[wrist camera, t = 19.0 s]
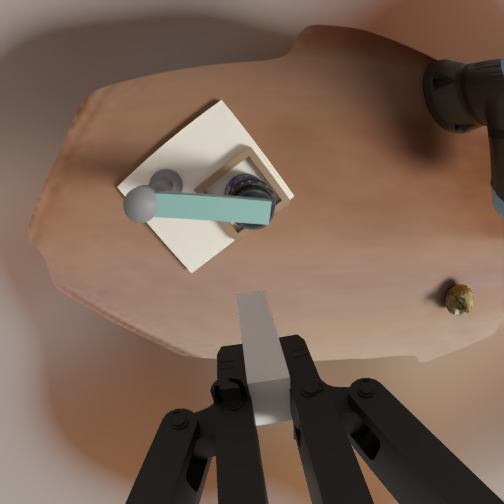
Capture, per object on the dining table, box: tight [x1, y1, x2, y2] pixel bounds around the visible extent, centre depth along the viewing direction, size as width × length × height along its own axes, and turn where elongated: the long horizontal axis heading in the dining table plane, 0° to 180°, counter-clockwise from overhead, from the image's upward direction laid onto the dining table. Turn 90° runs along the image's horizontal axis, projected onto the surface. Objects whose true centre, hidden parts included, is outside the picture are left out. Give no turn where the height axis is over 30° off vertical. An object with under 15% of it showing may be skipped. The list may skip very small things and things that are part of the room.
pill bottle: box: [225, 174, 276, 230], centre depth 37 cm, size 6×6×11 cm
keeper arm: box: [123, 185, 272, 225], centre depth 28 cm, size 15×4×2 cm, turn 84°
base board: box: [118, 100, 294, 273], centre depth 36 cm, size 20×18×14 cm
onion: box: [445, 284, 474, 316], centre depth 52 cm, size 8×8×8 cm
